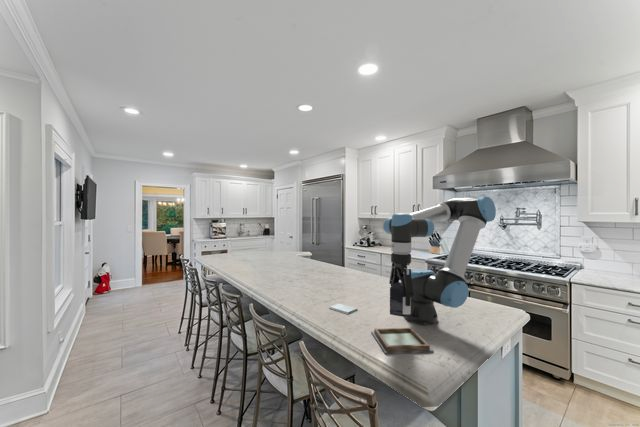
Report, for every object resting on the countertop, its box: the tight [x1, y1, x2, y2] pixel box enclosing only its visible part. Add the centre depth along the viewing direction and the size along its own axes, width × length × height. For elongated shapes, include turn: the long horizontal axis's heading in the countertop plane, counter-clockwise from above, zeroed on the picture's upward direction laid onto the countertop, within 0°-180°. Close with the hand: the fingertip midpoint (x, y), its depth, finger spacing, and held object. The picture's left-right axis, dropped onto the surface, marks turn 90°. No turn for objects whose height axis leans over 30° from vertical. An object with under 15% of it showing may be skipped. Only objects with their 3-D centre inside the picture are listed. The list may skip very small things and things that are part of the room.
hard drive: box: [328, 302, 358, 315], centre depth 145 cm, size 2×8×12 cm
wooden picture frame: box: [370, 327, 435, 355], centre depth 109 cm, size 18×18×2 cm
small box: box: [389, 281, 407, 318], centre depth 109 cm, size 11×6×10 cm, turn 154°
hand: (400, 308), depth 109 cm, fingers closed on small box, 12 cm apart
